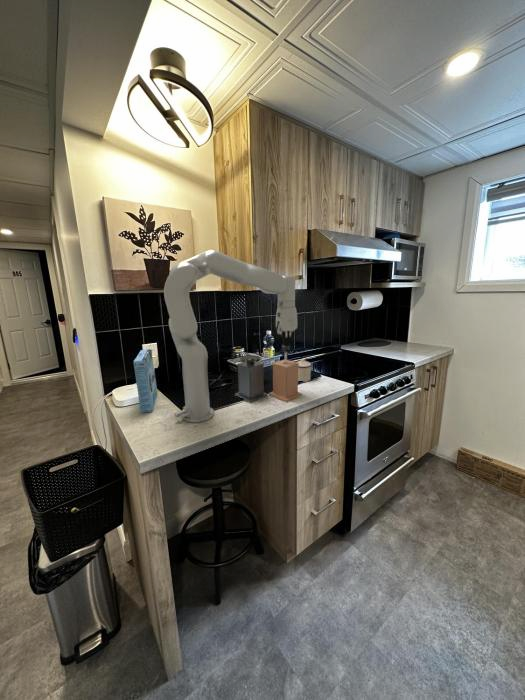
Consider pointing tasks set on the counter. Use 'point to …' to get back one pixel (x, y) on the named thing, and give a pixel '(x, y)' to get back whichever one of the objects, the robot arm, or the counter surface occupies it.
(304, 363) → the teacup with lid
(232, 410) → the counter surface
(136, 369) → the gum box
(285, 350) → the plunger
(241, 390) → the press
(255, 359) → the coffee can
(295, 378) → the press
